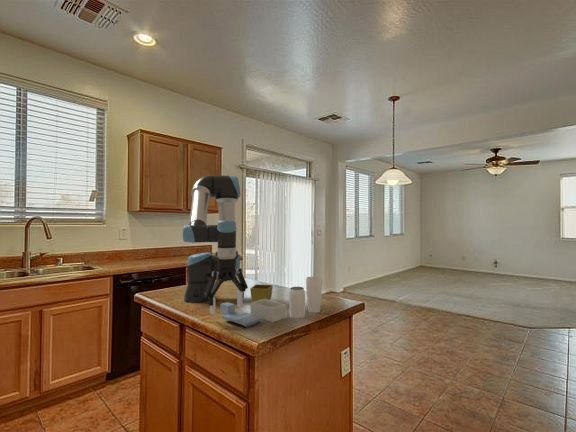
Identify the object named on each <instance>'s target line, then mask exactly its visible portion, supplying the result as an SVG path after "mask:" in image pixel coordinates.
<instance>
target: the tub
mask: <svg viewBox="0 0 576 432" xmlns="http://www.w3.org/2000/svg"><path fill="white" fill-rule="evenodd" d="M250 314H252V315H255V316H259V317H262V318H263V320H262V321H267V322H270V323H275V322H278V321H280V320H284V319H286V318H287V303H282V302H278V301H275V300H272V299H270V300H267V299H262V300H258V301H254V302H252V301H251V302H250Z"/></svg>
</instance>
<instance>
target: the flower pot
mask: <svg viewBox="0 0 576 432" xmlns="http://www.w3.org/2000/svg"><path fill="white" fill-rule="evenodd" d="M273 286H274V285H272V284H257V283H256V284H254V285H253V286H252V287H250V290H249V291H250V297H251V302H254V301H258V300H262V299H267V300H272V296H273Z"/></svg>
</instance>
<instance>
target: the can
mask: <svg viewBox="0 0 576 432" xmlns="http://www.w3.org/2000/svg"><path fill="white" fill-rule="evenodd" d="M304 288H305V287H303V286H292V287H290V289H289V298H288V299H289V302H288V303H289V317H290V318H293V319H302V318H305V317H306V291H305V289H304Z"/></svg>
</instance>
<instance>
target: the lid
mask: <svg viewBox="0 0 576 432" xmlns="http://www.w3.org/2000/svg"><path fill="white" fill-rule="evenodd" d="M219 305H220V307H219V308H220V309H219V311H220V315H222V316H221V318H222V319H224V320H228V322H233V323H236V324H239V325H241V326H244V327H245V328H248V327H251V326H254V325H257V323H258V322H261V321H264V320H263V318H262V317H259V316H255V315H252V314H251V313H248V312H244V311H241V310H239V311H235V308H236V307H235V306H236V305H235V304H234V303H232V302H228V301H227V302H223V303H220V304H219Z"/></svg>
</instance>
